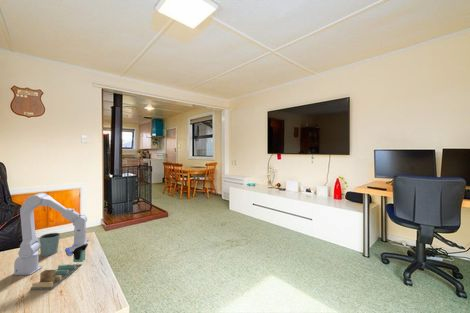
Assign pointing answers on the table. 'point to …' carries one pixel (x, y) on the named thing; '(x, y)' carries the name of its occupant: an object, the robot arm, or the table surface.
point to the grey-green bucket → (49, 244)
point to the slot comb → (60, 275)
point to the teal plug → (82, 257)
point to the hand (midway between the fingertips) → (79, 258)
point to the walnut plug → (47, 276)
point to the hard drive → (68, 251)
